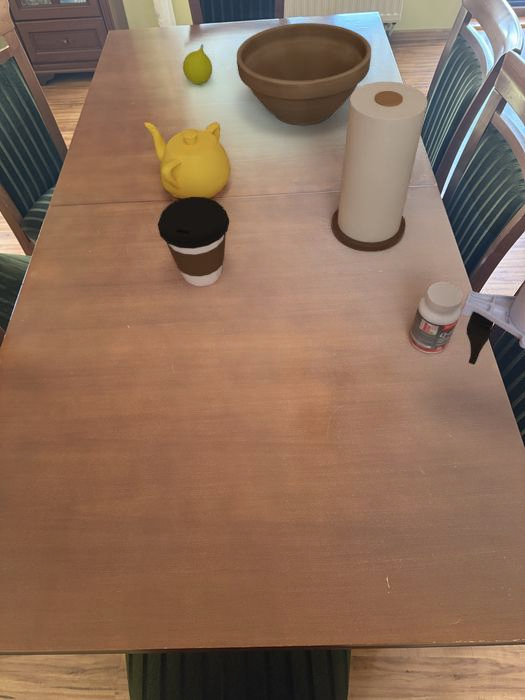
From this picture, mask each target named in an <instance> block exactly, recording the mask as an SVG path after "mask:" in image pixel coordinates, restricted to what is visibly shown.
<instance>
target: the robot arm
mask: <svg viewBox="0 0 525 700" xmlns="http://www.w3.org/2000/svg"><path fill="white" fill-rule="evenodd" d="M460 315H463V316H466V317H469V320H468V322H467V325H466V335H467V338H468V342H469V346H470V356H469V359H468V364H470V365H473V366H474V365H476V363H477V361H478V358H479V356H480V354H481V351H482V349H483V348H484V346H485V345H486V343H487V342H488V340H489V338H490V335H491V331H492V329H493V327H494V324H495V325H496V326H498V327H500V328H502V329H503V330H505V331H506V332H508V333H509V334H511V335H513V336H514V337H515V338H517V339H518V340H519V341H518V342H519V346H520V348H522V349H525V282H523V284H522V286H521V288H520V290H519V292H518V293H517V295H502V294H492V293H491V294H490V293H489V294H488V293H481V292H477V291H473V290H469V291H468V294H467V296H466V298H465V301H464V303H463V305H462V308H461V313H460Z"/></svg>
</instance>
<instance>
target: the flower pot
mask: <svg viewBox="0 0 525 700" xmlns="http://www.w3.org/2000/svg"><path fill="white" fill-rule="evenodd" d="M371 60H372V46H371V44H370V42H369V41H368V40H367V39H366V38H365V37H364V36H363V35H361V34H360V33H358V32H356V31H353V30H352V29H349V28H346V27H342V26H338V25H334V24H327V23H318V22H301V23H299V22H298V23H297V22H296V23H290V24H284V25H279V26H274V27H271V28H267V29H264V30H262V31H259V32H257V33H255V34H253V35H251V36H250V37H248V38H247V39H245V40H244V41H243V42H242V43H241V44H240V45H239V47H238V49H237V51H236V66H237V73H238V75H239V78H240V80H241V82H242V83H243V84H244V85H245V86H246V87H247V88H249V89H250V90H251V92H252V94H253V96H255V98H256V99H257V100H258V101H259V103H261V104H262V106H263V107H265V109H267V110H268V111H269V112H270V113H271V114H272V115H273V116H274V117H276V118H277V119H278V120H279V121H281V122H283V123H285V124H288V125H293V126H309V125H315V124H318V123H322V122H324V121H326V120H327V119H329V118H330V117H331V116H332V114H334V113H335V112H336V111H337V110H339V108H341V106H343V105H344V103H346V101H347V100H348V99H349V97H351V94H352V93H353V92H354V91H355V90H356V89H357V86H358V84H360V83H361V82H362V81H363V80H365V78H366V77H367V76H368V73H369V72H370V66H371V62H372V61H371Z"/></svg>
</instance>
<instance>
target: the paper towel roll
mask: <svg viewBox="0 0 525 700" xmlns="http://www.w3.org/2000/svg"><path fill="white" fill-rule="evenodd" d="M349 97H350V98H349V106H348V116H347V125H346V135H345V143H344V144H345V145H344V155H343V166H342V173H341V174H342V175H341V182H340V183H341V185H340V194H339V201H338V202H339V204H338V208H337V209H336V210H335V211H334V213H333V214H332V218H331V231H332V234H333V236H334V237H335V238H336V239H337V240H338V242H340V243H341V244H342V245H344V246H346V247H347V248H350V249H353V250H356V251H360V252H367V253H370V252H381V251H386V250H388V249H391V248H393V247H394V246H396V245H397V244H398V243H400V241H401V240H402V239H403V238H404V235H405V231H406V220H405V218H404V216H403V213H404V209H405V205H406V200H407V196H408V192H409V187H410V182H411V177H412V174H413V170H414V165H415V160H416V156H417V152H418V147H419V143H420V139H421V134H422V129H423V125H424V121H425V116H426V111H427V106H428V98H427V96H426V95H425V94H424V93H423V91H421V90H419V88H416V87H415V86H412V85H409V84H406V83H403V82H396V81H375V82H370V83H366V84H363V85H361V86H359V87H356V88H355V90H354V91H353V93H352V94H351V95H350V96H349Z"/></svg>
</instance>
